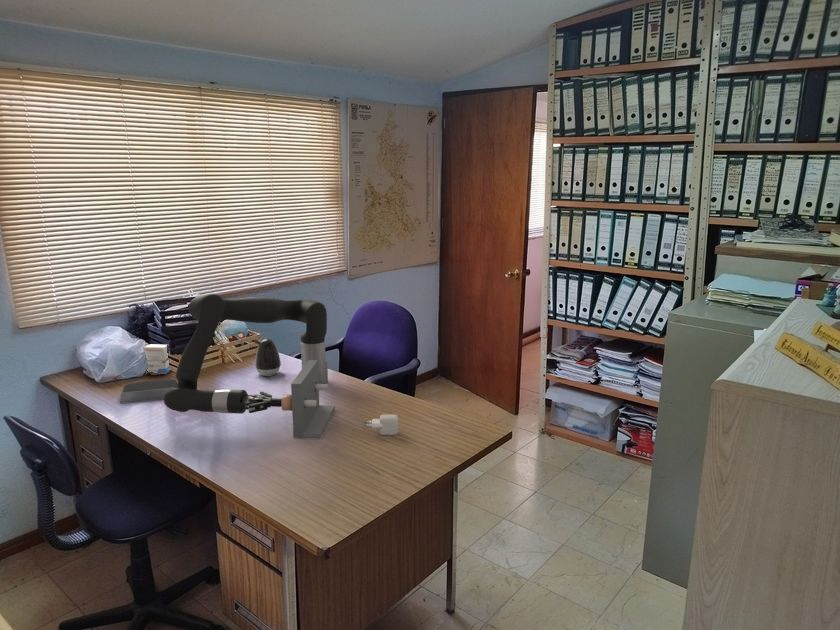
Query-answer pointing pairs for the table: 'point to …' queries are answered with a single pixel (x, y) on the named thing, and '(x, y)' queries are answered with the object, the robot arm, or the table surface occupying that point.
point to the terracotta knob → (287, 402)
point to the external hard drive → (147, 390)
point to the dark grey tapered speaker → (267, 358)
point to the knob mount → (308, 417)
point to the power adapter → (385, 424)
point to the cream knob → (321, 386)
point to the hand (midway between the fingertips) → (283, 402)
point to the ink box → (157, 358)
